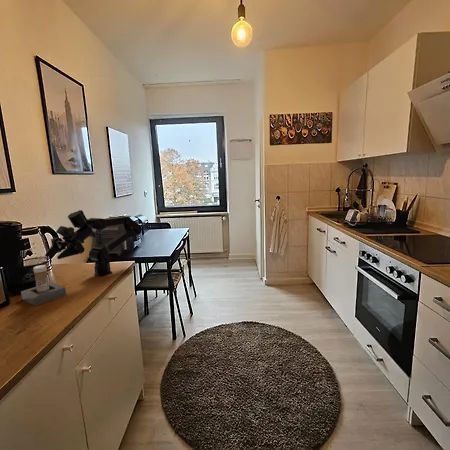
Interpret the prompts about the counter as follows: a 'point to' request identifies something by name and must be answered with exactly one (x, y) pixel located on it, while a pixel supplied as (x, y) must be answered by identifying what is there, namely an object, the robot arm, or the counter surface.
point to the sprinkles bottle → (41, 278)
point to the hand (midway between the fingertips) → (51, 257)
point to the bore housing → (43, 294)
